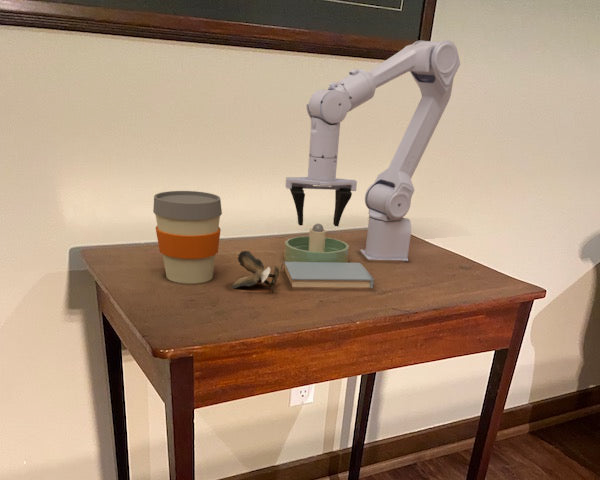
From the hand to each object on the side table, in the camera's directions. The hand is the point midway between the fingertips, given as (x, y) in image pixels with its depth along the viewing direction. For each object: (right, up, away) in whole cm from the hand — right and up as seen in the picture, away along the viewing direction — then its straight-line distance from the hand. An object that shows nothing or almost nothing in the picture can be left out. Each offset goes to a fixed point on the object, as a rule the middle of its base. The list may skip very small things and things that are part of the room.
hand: (318, 224), depth 130 cm
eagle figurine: (-13, -16, -14) cm, 25 cm away
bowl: (0, -7, +4) cm, 8 cm away
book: (+1, -13, -7) cm, 15 cm away
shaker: (0, -7, +4) cm, 8 cm away
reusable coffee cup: (-25, -13, -10) cm, 30 cm away
